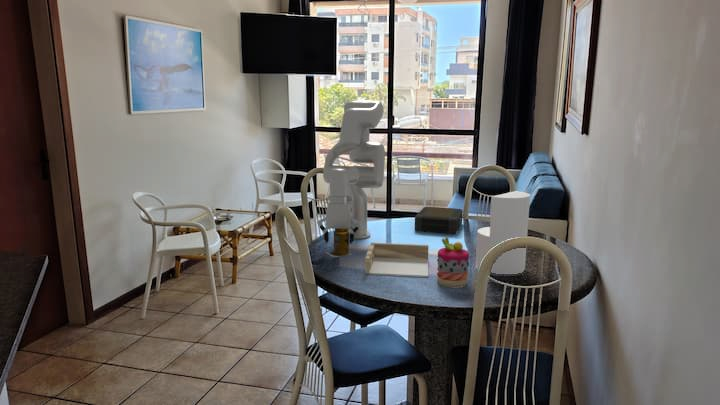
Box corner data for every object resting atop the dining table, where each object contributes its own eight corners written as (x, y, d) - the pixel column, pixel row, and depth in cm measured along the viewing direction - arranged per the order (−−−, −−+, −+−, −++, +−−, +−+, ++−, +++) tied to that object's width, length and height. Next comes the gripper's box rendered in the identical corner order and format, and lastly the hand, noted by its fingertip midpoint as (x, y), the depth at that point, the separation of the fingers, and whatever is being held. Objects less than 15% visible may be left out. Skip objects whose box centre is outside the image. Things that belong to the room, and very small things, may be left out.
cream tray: (370, 257, 200) (371, 242, 199) (427, 260, 197) (428, 245, 196) (364, 274, 180) (365, 257, 179) (428, 277, 178) (428, 260, 177)
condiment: (353, 254, 204) (353, 225, 201) (334, 258, 199) (334, 227, 197) (343, 250, 210) (343, 221, 207) (325, 253, 205) (325, 224, 203)
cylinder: (533, 269, 187) (539, 193, 182) (509, 280, 175) (515, 200, 170) (491, 259, 199) (495, 187, 194) (466, 269, 187) (470, 193, 182)
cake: (468, 278, 177) (470, 236, 174) (467, 289, 167) (469, 244, 164) (437, 276, 179) (439, 234, 176) (435, 286, 169) (436, 242, 166)
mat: (370, 257, 200) (371, 256, 200) (427, 260, 197) (427, 258, 197) (364, 274, 180) (364, 272, 180) (428, 277, 178) (428, 275, 178)
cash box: (457, 235, 235) (458, 219, 233) (413, 232, 241) (414, 216, 239) (463, 223, 258) (464, 208, 256) (423, 220, 264) (424, 206, 262)
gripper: (362, 199, 203) (361, 241, 206) (319, 197, 205) (319, 239, 208) (360, 202, 195) (359, 245, 198) (315, 200, 197) (315, 244, 200)
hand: (338, 242), depth 203 cm, fingers open, 9 cm apart
